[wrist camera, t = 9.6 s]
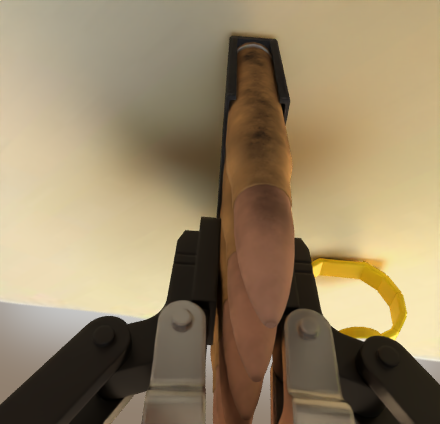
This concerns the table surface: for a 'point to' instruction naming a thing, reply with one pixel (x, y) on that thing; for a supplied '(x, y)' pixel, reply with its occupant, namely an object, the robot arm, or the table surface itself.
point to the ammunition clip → (251, 226)
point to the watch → (374, 280)
